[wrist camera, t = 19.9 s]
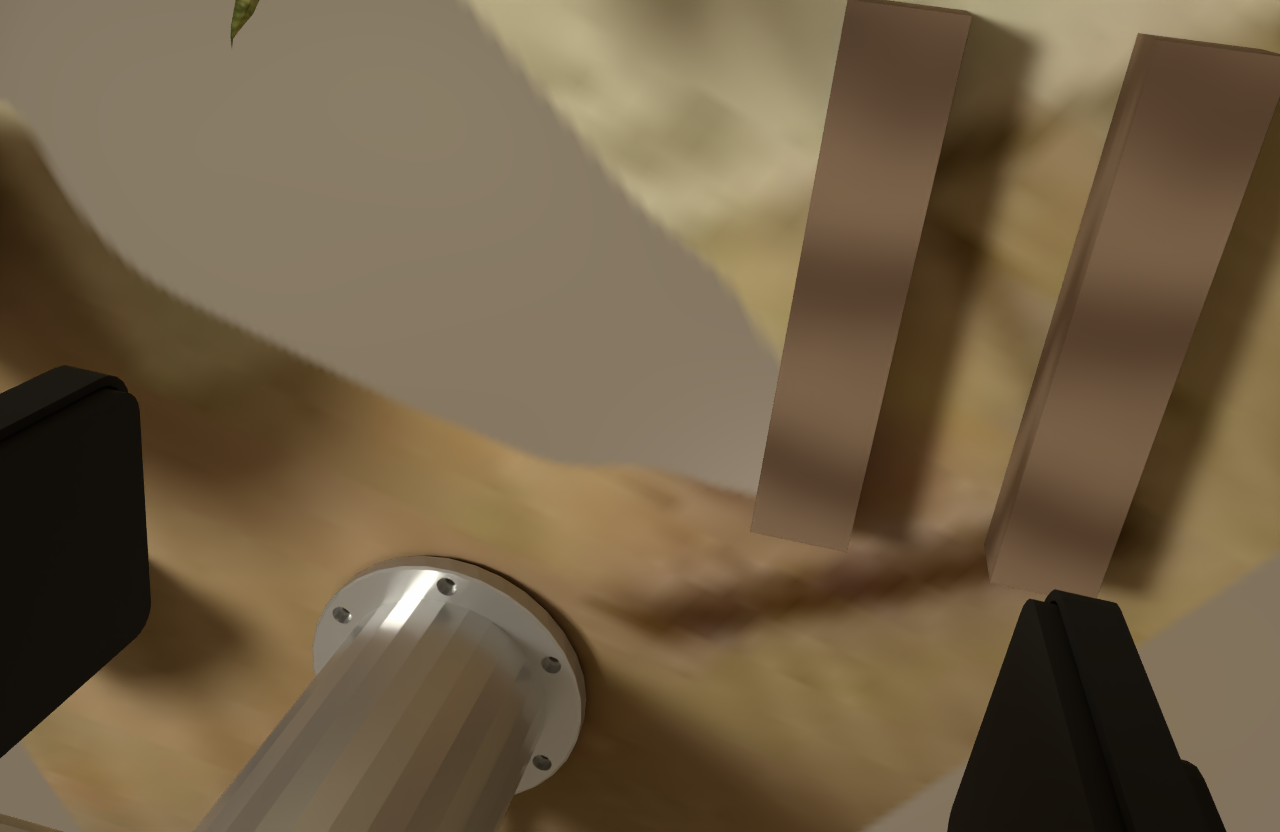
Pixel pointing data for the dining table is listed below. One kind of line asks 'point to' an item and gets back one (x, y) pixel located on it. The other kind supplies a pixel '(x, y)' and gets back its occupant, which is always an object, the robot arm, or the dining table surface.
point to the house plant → (241, 15)
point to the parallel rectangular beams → (1086, 308)
